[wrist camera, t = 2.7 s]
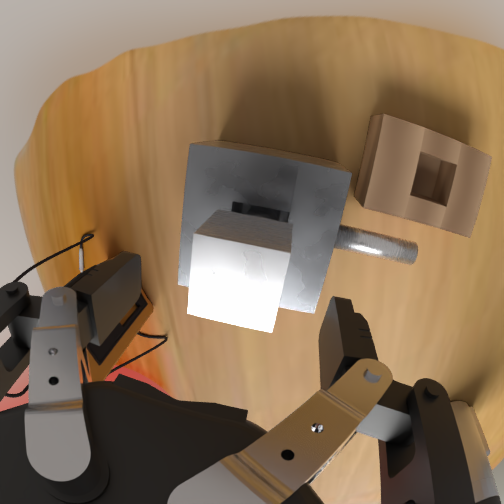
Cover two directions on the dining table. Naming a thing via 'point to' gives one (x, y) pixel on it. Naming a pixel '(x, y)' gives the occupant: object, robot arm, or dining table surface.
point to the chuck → (281, 210)
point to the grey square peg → (240, 267)
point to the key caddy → (421, 175)
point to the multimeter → (118, 339)
